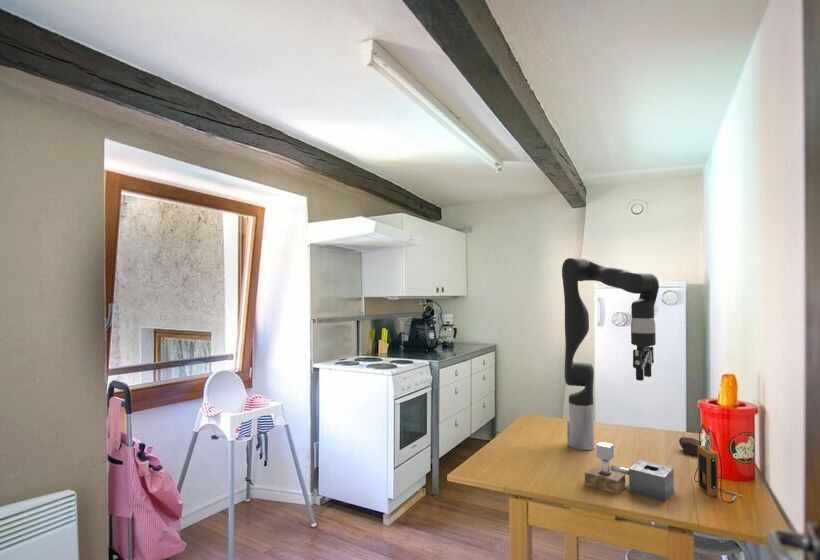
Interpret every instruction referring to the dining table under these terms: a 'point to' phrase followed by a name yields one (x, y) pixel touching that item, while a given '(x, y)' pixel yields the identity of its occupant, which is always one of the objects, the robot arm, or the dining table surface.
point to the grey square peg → (605, 456)
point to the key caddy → (605, 480)
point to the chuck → (649, 479)
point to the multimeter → (709, 469)
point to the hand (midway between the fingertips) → (643, 378)
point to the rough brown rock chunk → (689, 445)
